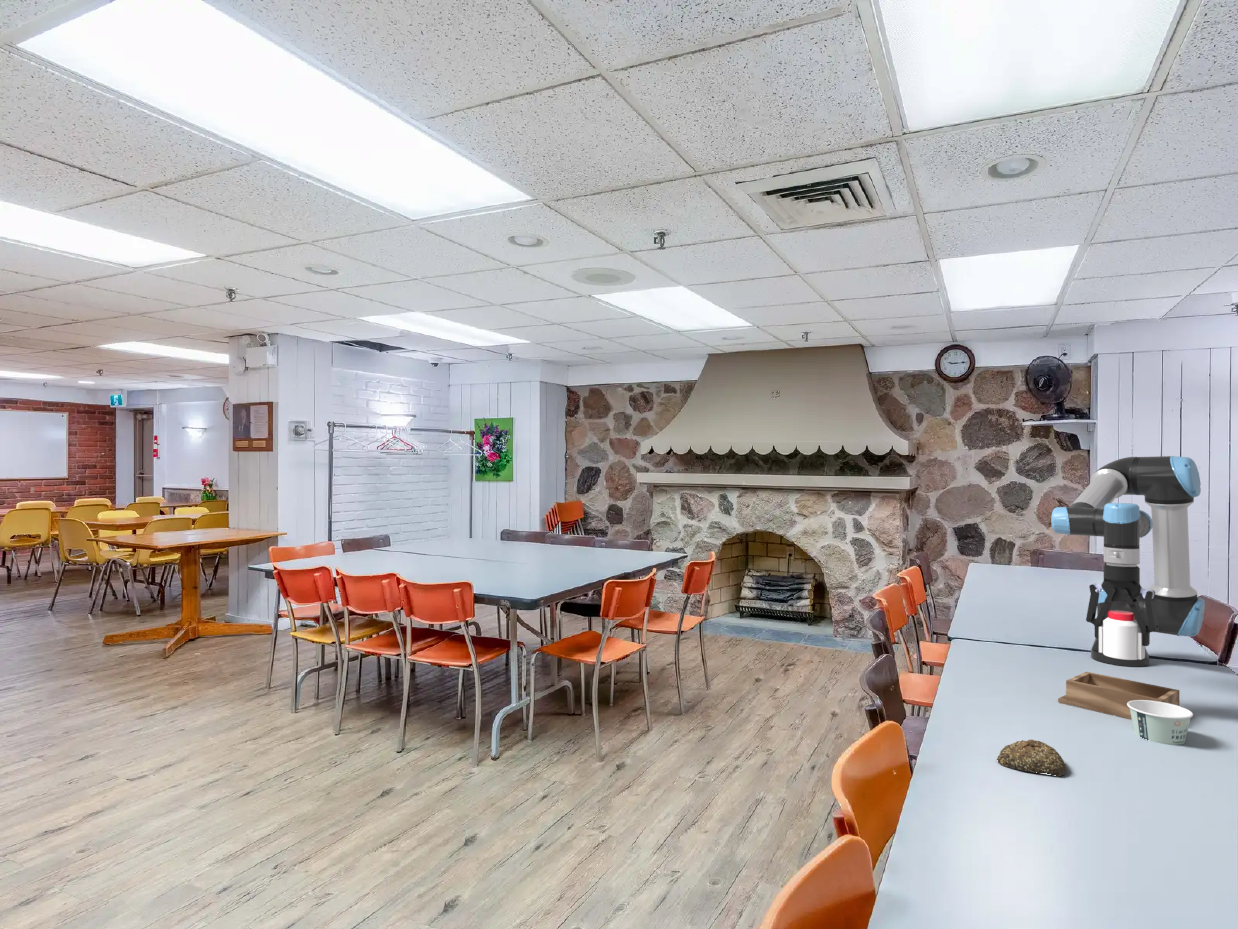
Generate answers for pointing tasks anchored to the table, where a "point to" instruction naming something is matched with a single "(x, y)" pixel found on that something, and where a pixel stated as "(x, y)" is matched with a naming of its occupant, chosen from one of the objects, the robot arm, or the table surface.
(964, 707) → the table surface
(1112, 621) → the pill bottle
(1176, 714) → the food container
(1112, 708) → the tray
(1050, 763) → the bread roll
